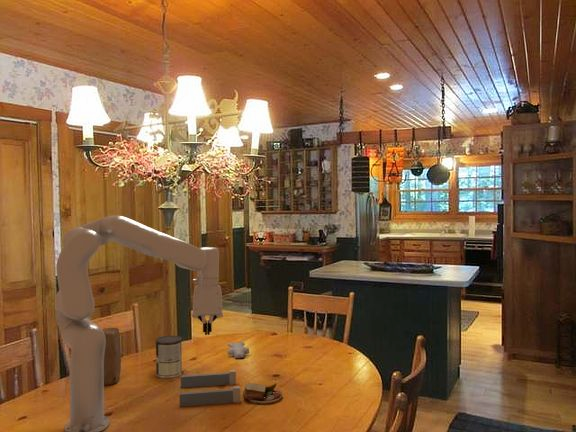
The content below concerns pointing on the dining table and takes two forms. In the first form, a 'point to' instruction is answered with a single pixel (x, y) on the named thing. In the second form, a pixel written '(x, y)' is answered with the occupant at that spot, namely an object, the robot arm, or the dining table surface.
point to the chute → (209, 396)
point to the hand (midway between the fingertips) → (207, 334)
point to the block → (112, 356)
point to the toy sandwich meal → (261, 393)
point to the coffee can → (168, 356)
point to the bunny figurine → (238, 350)
